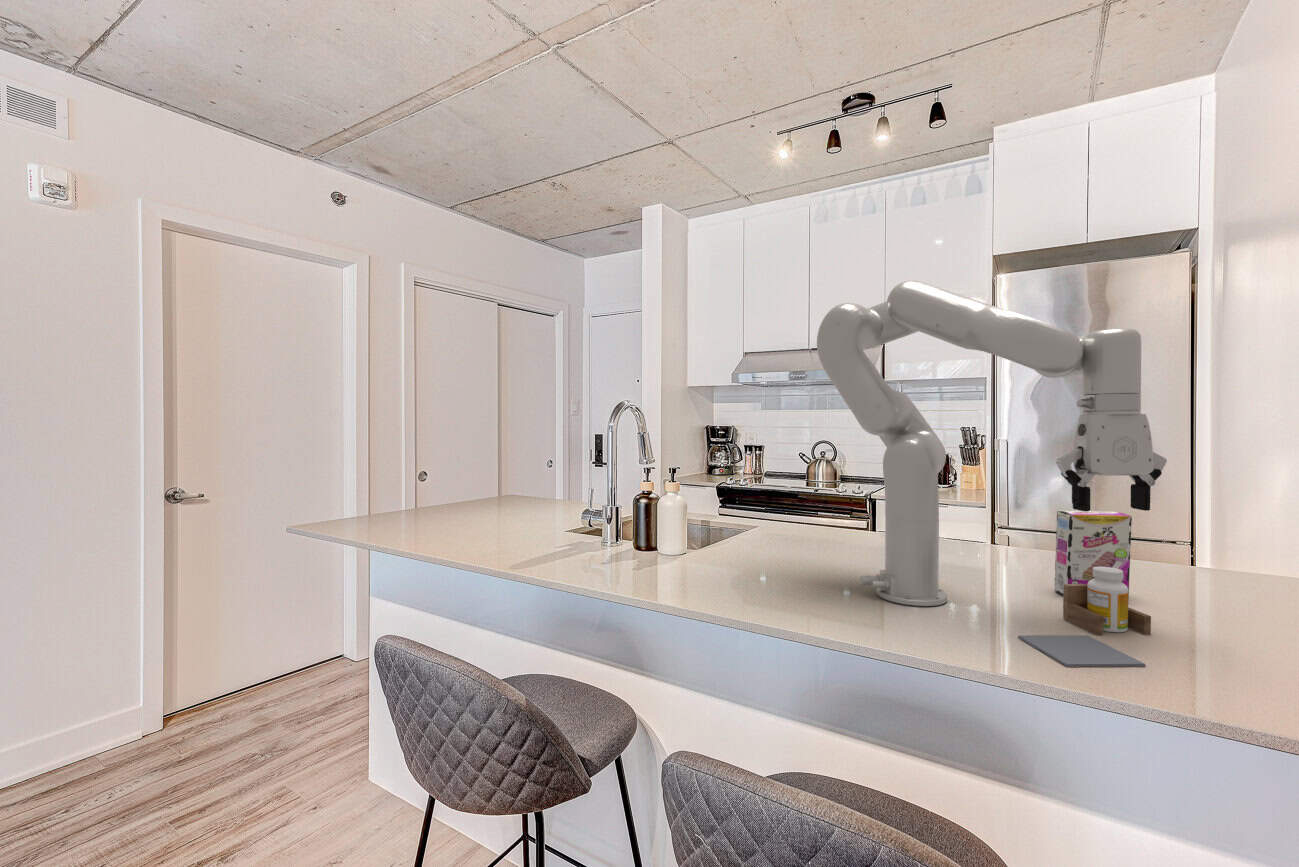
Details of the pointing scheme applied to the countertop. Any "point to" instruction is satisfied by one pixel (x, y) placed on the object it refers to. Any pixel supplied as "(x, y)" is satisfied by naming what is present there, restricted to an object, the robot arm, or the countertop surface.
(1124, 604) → the supplement bottle
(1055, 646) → the slate mat
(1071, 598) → the shelf slot
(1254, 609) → the countertop surface
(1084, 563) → the candy bar box
